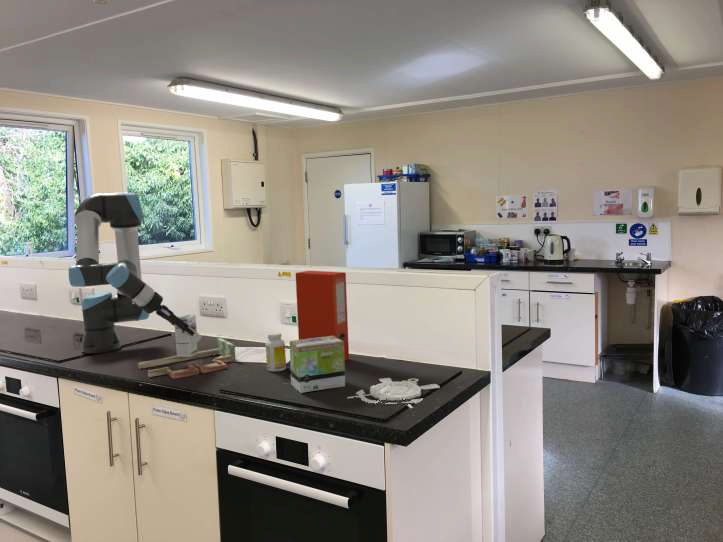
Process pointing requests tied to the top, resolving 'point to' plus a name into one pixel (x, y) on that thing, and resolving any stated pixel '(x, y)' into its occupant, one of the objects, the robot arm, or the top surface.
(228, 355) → the channel
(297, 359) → the tea box
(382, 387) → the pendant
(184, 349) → the syrup box
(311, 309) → the file binder
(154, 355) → the top surface
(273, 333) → the supplement bottle
